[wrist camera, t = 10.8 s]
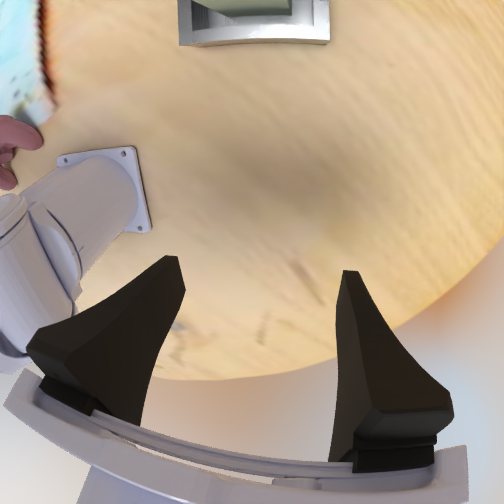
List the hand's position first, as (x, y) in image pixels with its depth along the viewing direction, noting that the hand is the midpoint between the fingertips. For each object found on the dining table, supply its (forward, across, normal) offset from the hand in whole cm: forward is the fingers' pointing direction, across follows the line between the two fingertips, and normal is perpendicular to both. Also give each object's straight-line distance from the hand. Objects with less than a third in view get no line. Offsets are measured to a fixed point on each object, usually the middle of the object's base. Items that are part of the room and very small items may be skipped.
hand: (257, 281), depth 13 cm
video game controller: (+10, +28, -6) cm, 30 cm away
